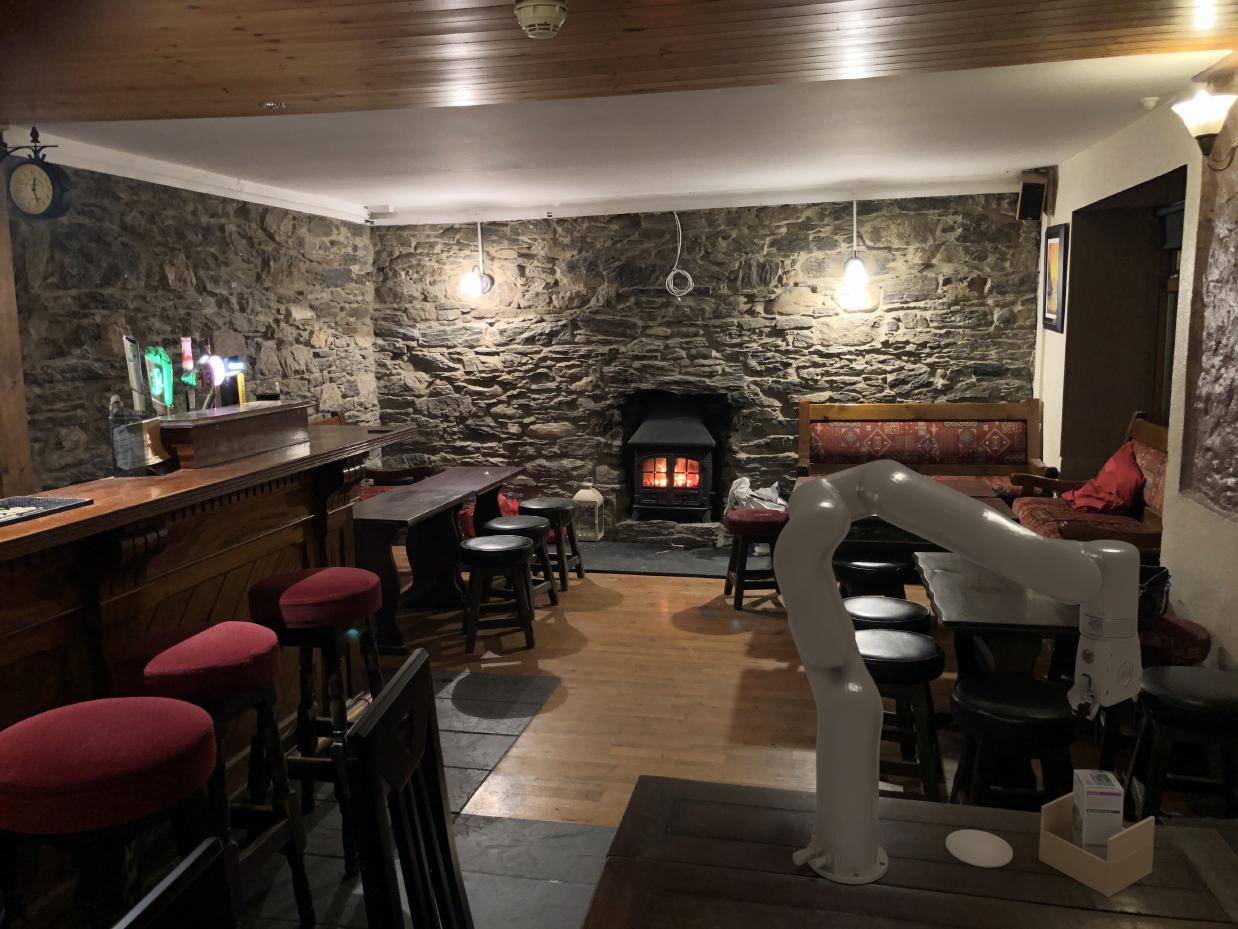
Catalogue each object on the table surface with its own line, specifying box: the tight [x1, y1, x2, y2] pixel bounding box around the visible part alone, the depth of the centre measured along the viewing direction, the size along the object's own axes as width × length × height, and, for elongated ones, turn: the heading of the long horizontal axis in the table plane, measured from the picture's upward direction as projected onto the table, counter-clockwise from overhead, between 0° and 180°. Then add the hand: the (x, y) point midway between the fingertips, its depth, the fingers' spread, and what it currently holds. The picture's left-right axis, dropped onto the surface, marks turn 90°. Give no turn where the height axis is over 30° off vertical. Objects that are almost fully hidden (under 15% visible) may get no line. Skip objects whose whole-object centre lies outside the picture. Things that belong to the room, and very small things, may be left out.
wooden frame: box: [1038, 791, 1156, 898], centre depth 136 cm, size 11×11×9 cm
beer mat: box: [945, 829, 1014, 869], centre depth 142 cm, size 10×10×1 cm
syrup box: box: [1071, 769, 1125, 861], centre depth 136 cm, size 6×6×14 cm
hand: (1104, 732), depth 134 cm, fingers open, 9 cm apart
